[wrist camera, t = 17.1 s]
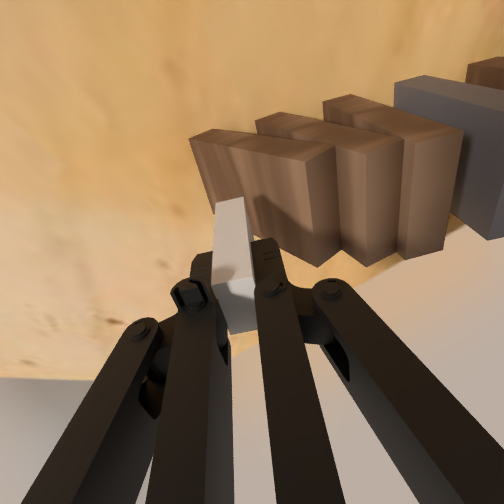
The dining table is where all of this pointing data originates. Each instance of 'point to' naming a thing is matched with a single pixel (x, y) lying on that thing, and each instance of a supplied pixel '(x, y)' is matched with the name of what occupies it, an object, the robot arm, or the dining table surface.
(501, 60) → the domino
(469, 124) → the domino
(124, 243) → the dining table surface
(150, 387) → the robot arm
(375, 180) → the domino
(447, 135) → the domino
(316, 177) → the domino
